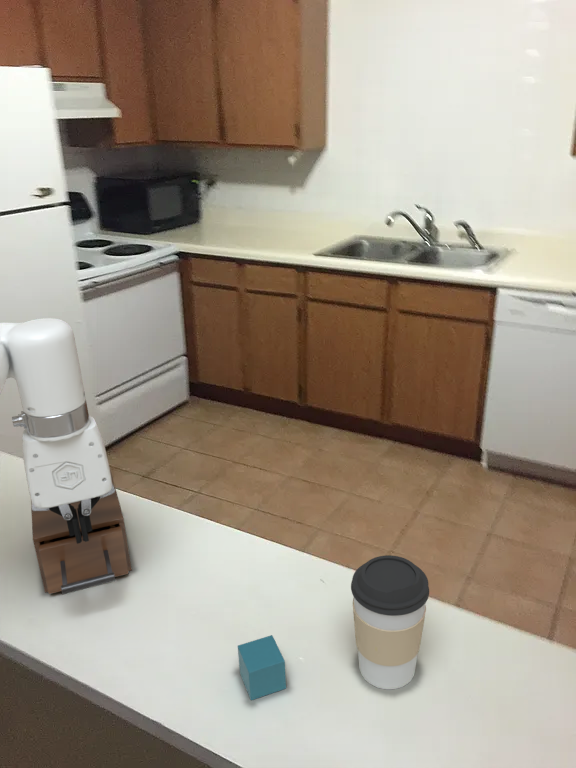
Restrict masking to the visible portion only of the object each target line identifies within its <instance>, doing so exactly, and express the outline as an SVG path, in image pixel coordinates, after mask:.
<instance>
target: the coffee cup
mask: <svg viewBox="0 0 576 768" xmlns="http://www.w3.org/2000/svg"><path fill="white" fill-rule="evenodd" d="M350 590H351V594H352V596H353V597H352V598H353V599H352V614H353V624H354V636H355V645H356V648H357V656H358V657H357V658H358V665H359V666H358V667H359V668H358V669H359V672H360V675H361V677H362V678H363V679H364V681H366V682H367V683H368V684H369V685H371V686H373V687H376V688H378V689H382V690H397V689H401V688H403V687H404V686H407V685H408V684H409V683H411V681H412V680H413V679H414V676H415V673H416V668H417V661H418V654H419V652H420V648H421V641H422V636H423V631H424V624H425V618H426V612H427V605H426V603H427V601H428V600H429V597H430V587H429V580H428V576H427V575H426V573H425V571H424V570H422V569H421V568H420V567H419V566H417V565H416V564H415V563H414V562H413V561H411V560H409V559H407V558H405V557H402V556H398V555H392V554H391V555H390V554H387V555H380V556H375V557H373V558H371V559H369V560H368V561H366V562H365V563H363V564H361V565H360V566H359V567H358V568H356V570H355V572H354V573H353V575H352V578H351V583H350Z"/></svg>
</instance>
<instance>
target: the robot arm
mask: <svg viewBox="0 0 576 768" xmlns="http://www.w3.org/2000/svg"><path fill="white" fill-rule="evenodd" d="M10 378H11V379H14V380H15V381H16V385H17V390H18V394H19V398H20V403H21V408H22V410H21V411H20V413H19V414H17V415H13V416H11V422H12V425H13V428H17V427H20V428H22V427H23V429H24V430H23V432H22V439H21V441H22V442H21V449H22V459H23V466H24V471H25V478H26V482H27V488H28V493H29V497H30V505H31V506H30V508H32V510H33V511H47V510H50V511H52V512H54V513H56V514H58V515H61V516H63V518H64V519H65V520H67V525H68V530H69V534H70V536H74V535H75V537H76V542H77V544H79V543H81V542H82V537H83V541H85V542H87V541H89V539H88V533H87V532H90V531H92V526H91V520H90V513H91V510H92V508H93V507H94V506H95V505H96V503H97V502H98V501H99V500H100V498H104V497H106V496H108V495H110V494H112V493H114V492H115V488H116V486H115V487H114V484H115V483H114V484H113V482H112V480H111V473H112V472H111V473H110V470H111V467H110V463H109V459H108V454H107V451H106V447H105V443H104V439H103V436H102V433H101V430H100V428H99V425H98V422H96V419H95V418H94V417H93V416H92V415H90V414H89V408H88V404H87V403H88V402H87V398H86V392H85V387H84V382H83V377H82V371H81V366H80V360H79V355H78V348H77V343H76V337H75V334H74V330H73V328H72V326H71V325H70V323H68V322H67V321H65V320H63V319H60V318H56V317H55V318H54V317H42V318H36V319H31V320H27V321H23V322H4V321H3V322H2V321H1V322H0V395H1V393H2V392H3V390H4V388H5V384H6V382H7V380H8V379H10ZM78 501H80V504H79V505H78V508H77V511H78V516H77V512H76V509H74V506H72V505H71V503H74V502H78ZM78 517H79V521H78ZM79 522H80V526H79ZM80 527H81V531H80ZM81 532H82V537H81Z"/></svg>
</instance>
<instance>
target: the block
mask: <svg viewBox="0 0 576 768" xmlns="http://www.w3.org/2000/svg"><path fill="white" fill-rule="evenodd" d="M237 657H238V668H239V674H240V677H241V679H242V681H243V684H244V687H245V689H246V692H247V694H248V697H249V700H250V701H254V700H257V699H259V698H263V697H265V696H268V695H271V694H274V693H277V692H279V691H283V690H286V689H287V681H286V680H287V678H286V660H285V658H284V656H283V654H282V652H281V650H280V648H279V646H278V644H277V642H276V640H275V637H274V636H273V635H272V634H271V635H268V636H267V635H266V636H264V637H261V638H257V639H254V640H251V641H248V642H245V643H241V644H239V645H237Z"/></svg>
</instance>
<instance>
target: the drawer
mask: <svg viewBox="0 0 576 768" xmlns="http://www.w3.org/2000/svg"><path fill="white" fill-rule="evenodd" d="M87 533H88V539H89V541H87V542H85V541H83V537H82V532H81V537H82V542H81V543H79V544H77V542H76V537H75V535H74V536H70V535H68V536H64V537H60V538H55V539H51V540H47V541H44V544H43V545H39V553H40V557H41V562H42V566H43V571H44V575H45V579H46V584H47V588H48V592H47V593H48V595H52V594H56V593H59V592H61V594H62V595H66V594H67V595H68V594H70V593H74V592H77V591H81V590H87V589H90V588H93V587H97V586H101V585H104V584H109V583H112V582H115V581H116V577H121V576H124V575H128V574H129V572H130V571H128V565H127V559H126V553H125V547H124V541H123V535H122V529H121V526H119V527H115V525H111V526H106V527H102V528H98V529H94V530H92V531H90V532H87Z"/></svg>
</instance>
